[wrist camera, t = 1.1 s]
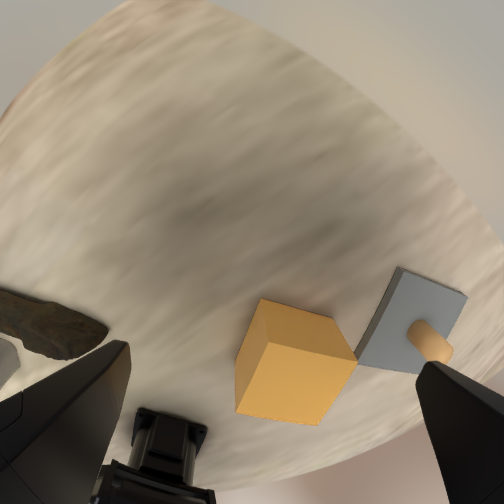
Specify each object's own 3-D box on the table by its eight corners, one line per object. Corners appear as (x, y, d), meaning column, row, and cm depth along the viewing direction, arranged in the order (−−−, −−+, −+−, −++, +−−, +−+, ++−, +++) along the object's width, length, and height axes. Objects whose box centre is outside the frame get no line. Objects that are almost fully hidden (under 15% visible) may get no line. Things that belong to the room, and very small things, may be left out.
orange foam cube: (302, 376, 23) (316, 425, 17) (235, 361, 22) (235, 412, 17) (332, 318, 21) (358, 362, 16) (260, 298, 21) (268, 341, 15)
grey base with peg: (419, 369, 24) (445, 401, 19) (351, 356, 22) (373, 396, 18) (461, 292, 22) (496, 317, 17) (397, 266, 21) (434, 292, 16)
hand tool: (-38, 299, 20) (-64, 318, 15) (-43, 263, 19) (-73, 279, 14) (111, 355, 22) (92, 390, 17) (110, 313, 21) (86, 346, 16)
